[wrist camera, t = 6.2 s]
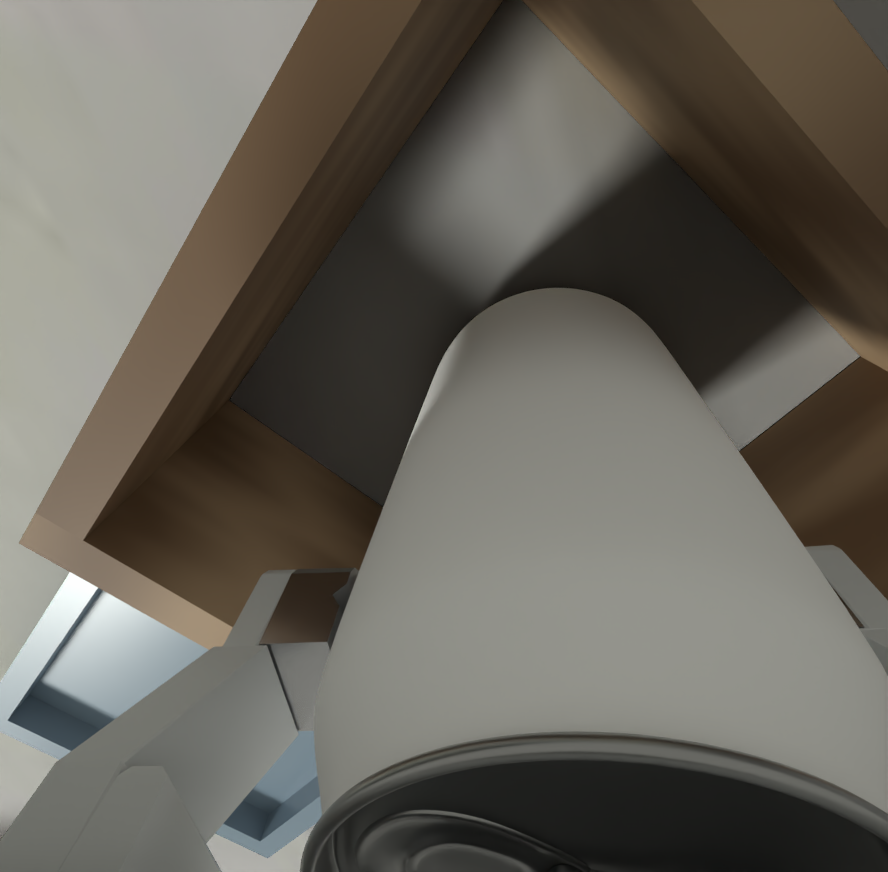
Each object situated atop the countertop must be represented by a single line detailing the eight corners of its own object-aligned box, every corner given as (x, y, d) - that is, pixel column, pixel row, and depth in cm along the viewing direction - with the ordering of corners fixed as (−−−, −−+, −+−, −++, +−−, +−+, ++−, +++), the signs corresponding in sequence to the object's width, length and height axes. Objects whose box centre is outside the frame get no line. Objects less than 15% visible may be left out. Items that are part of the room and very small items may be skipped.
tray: (461, 673, 22) (458, 719, 20) (282, 812, 28) (267, 858, 26) (145, 475, 19) (110, 508, 17) (13, 678, 24) (-25, 720, 23)
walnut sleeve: (916, 352, 15) (1215, 493, 9) (535, 639, 21) (555, 844, 15) (508, -97, 11) (532, -388, 5) (186, 403, 17) (18, 543, 11)
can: (447, 266, 14) (222, 628, 4) (706, 301, 14) (1307, 825, 3) (425, 478, 17) (268, 1007, 7) (635, 512, 17) (820, 1133, 6)
